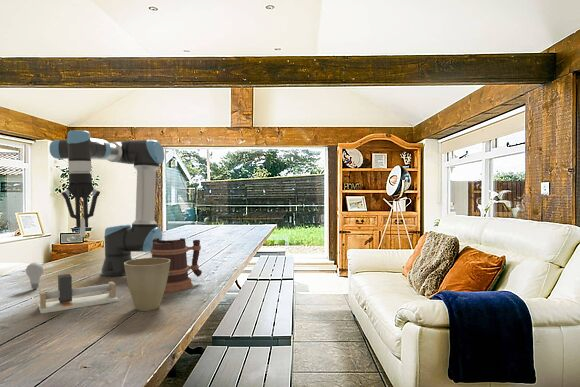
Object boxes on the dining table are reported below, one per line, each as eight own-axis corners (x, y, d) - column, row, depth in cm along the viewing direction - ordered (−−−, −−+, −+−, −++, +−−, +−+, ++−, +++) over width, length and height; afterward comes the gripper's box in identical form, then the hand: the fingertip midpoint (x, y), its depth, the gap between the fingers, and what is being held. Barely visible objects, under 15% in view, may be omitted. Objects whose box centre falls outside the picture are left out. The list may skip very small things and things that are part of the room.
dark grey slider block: (70, 297, 145) (69, 273, 145) (72, 301, 141) (71, 276, 141) (58, 299, 143) (58, 275, 143) (60, 302, 139) (59, 277, 139)
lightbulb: (35, 291, 163) (34, 264, 163) (22, 290, 164) (21, 263, 164) (47, 287, 169) (46, 261, 169) (34, 287, 170) (34, 261, 170)
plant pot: (127, 317, 129) (126, 267, 129) (122, 305, 142) (121, 260, 142) (175, 310, 136) (174, 262, 135) (166, 299, 149) (165, 256, 149)
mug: (208, 287, 167) (207, 238, 167) (150, 294, 156) (149, 242, 156) (195, 278, 183) (195, 234, 183) (142, 285, 172) (141, 237, 172)
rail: (112, 295, 156) (111, 280, 155) (118, 301, 147) (117, 285, 147) (38, 306, 142) (38, 289, 142) (40, 313, 134) (40, 295, 134)
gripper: (97, 172, 157) (99, 233, 158) (58, 173, 150) (61, 236, 151) (101, 172, 151) (103, 235, 152) (61, 172, 143) (64, 239, 144)
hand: (82, 236), depth 151 cm, fingers closed
